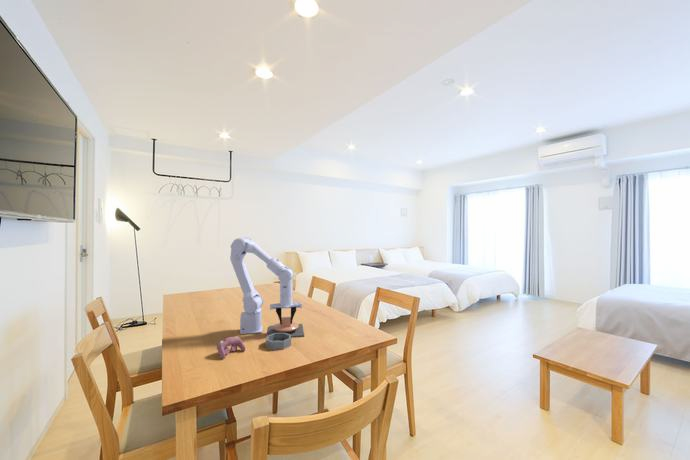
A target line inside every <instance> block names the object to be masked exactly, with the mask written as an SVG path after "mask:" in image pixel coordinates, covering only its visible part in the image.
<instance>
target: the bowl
mask: <svg viewBox="0 0 690 460" xmlns="http://www.w3.org/2000/svg"><path fill="white" fill-rule="evenodd" d="M291 346H292V337H291V335H290V334H287V333H273V334H271V335H268V334H267V335H266V338H265V348H267V349H269V350H273V351H276V350H285V349H287V348H289V347H291Z"/></svg>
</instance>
